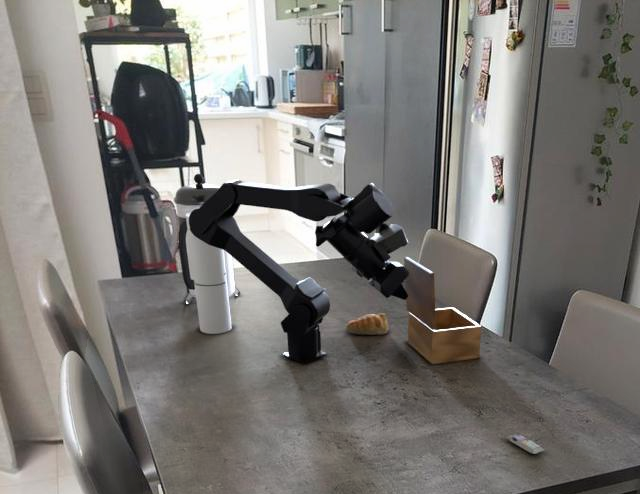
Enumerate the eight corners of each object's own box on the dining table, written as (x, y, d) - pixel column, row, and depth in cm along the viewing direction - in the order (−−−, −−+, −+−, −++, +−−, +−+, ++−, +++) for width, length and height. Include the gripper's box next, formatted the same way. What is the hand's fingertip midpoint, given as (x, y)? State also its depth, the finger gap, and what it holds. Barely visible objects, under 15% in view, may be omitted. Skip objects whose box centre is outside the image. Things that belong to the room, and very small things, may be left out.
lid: (407, 256, 142) (403, 257, 142) (434, 272, 131) (430, 273, 131) (410, 309, 149) (406, 310, 148) (435, 329, 138) (432, 330, 137)
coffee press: (173, 295, 182) (155, 172, 167) (232, 288, 188) (220, 168, 173) (188, 314, 169) (170, 181, 153) (251, 306, 175) (240, 177, 159)
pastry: (349, 337, 155) (349, 320, 153) (343, 328, 161) (343, 311, 159) (390, 334, 157) (390, 317, 155) (382, 325, 162) (383, 309, 160)
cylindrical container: (235, 324, 163) (223, 211, 150) (226, 334, 157) (214, 217, 144) (205, 323, 163) (191, 210, 150) (196, 333, 157) (181, 217, 144)
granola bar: (544, 453, 109) (545, 447, 108) (533, 457, 108) (534, 451, 107) (515, 436, 114) (516, 430, 113) (505, 439, 113) (505, 434, 112)
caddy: (451, 337, 155) (453, 307, 152) (479, 358, 144) (481, 326, 141) (407, 342, 152) (408, 311, 149) (432, 364, 141) (433, 331, 138)
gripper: (400, 220, 122) (453, 278, 130) (366, 202, 137) (416, 255, 145) (357, 269, 124) (413, 323, 132) (329, 247, 139) (380, 296, 147)
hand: (406, 297), depth 139 cm, fingers closed
